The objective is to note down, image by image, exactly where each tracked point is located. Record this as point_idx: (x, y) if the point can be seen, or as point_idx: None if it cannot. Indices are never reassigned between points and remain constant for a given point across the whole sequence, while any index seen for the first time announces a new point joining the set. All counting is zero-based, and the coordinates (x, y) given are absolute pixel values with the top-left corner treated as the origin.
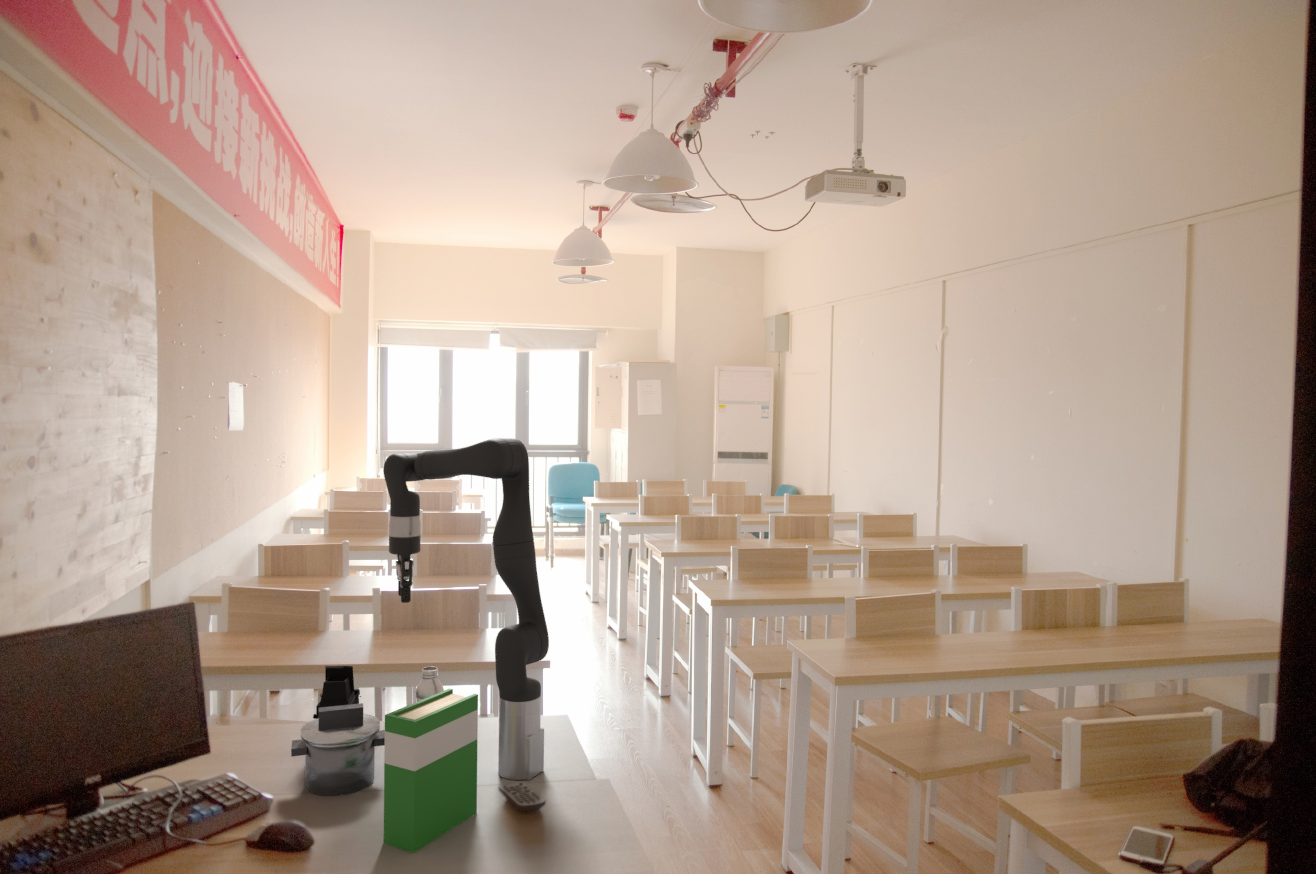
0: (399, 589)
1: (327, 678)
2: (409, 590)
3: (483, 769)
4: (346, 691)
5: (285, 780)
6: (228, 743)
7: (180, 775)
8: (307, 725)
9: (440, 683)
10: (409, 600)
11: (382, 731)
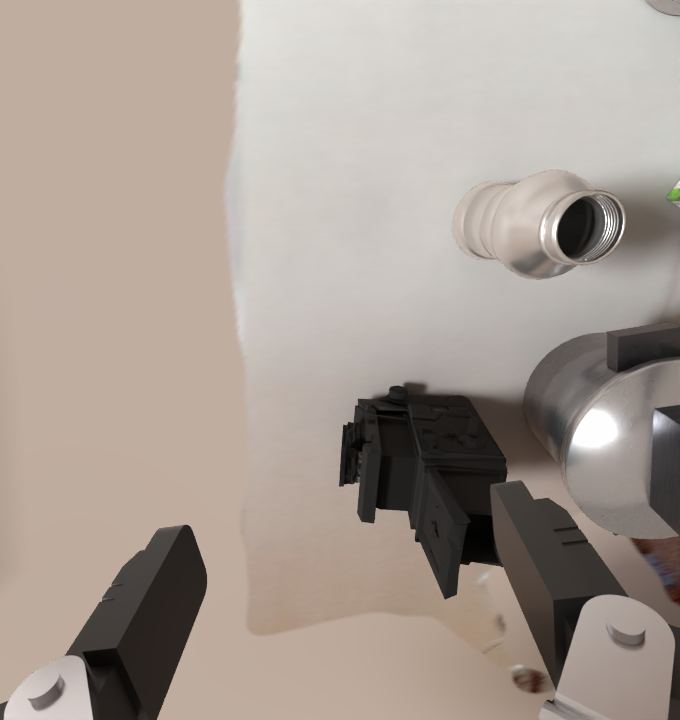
0: (184, 627)
1: (465, 563)
2: (573, 571)
3: (634, 63)
4: None
5: (549, 490)
6: (339, 609)
7: (474, 639)
8: (633, 530)
9: (570, 181)
10: (522, 491)
11: (629, 346)
